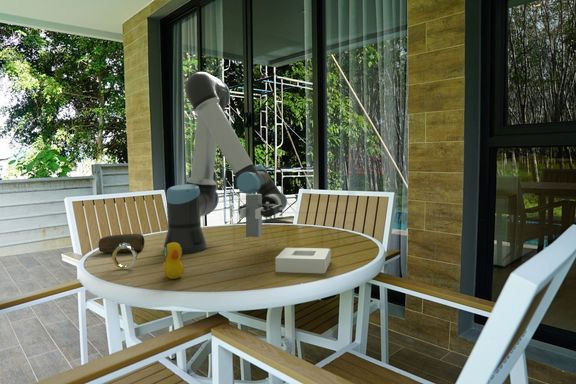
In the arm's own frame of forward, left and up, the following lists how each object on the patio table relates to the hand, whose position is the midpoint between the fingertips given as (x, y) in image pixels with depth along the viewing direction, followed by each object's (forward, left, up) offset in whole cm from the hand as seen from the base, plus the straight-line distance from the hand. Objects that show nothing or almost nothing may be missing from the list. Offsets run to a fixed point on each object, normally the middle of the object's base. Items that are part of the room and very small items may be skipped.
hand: (248, 214), depth 123 cm
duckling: (-21, -9, -16) cm, 28 cm away
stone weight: (-45, +30, -16) cm, 56 cm away
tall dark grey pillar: (+2, +5, -7) cm, 9 cm away
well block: (+16, -5, -16) cm, 23 cm away
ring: (-37, +4, -16) cm, 41 cm away
